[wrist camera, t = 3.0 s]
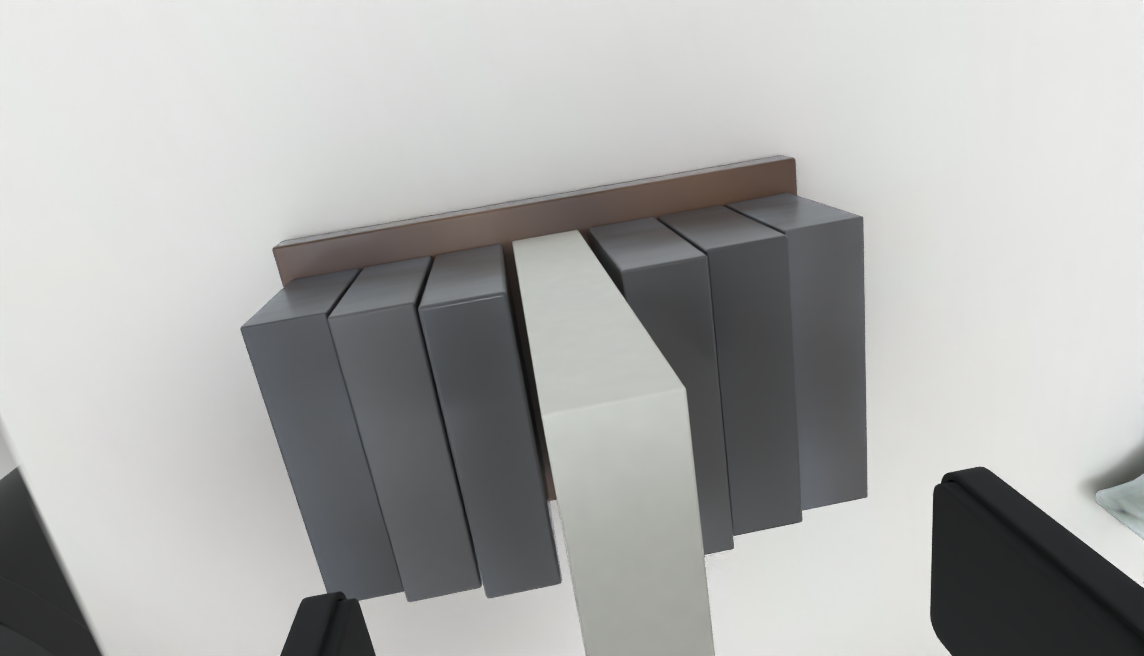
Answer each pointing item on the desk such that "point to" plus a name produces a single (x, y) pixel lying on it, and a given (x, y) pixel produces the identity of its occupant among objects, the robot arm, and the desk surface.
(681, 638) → the white book
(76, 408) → the desk surface
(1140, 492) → the tape dispenser
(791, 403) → the grey book row
